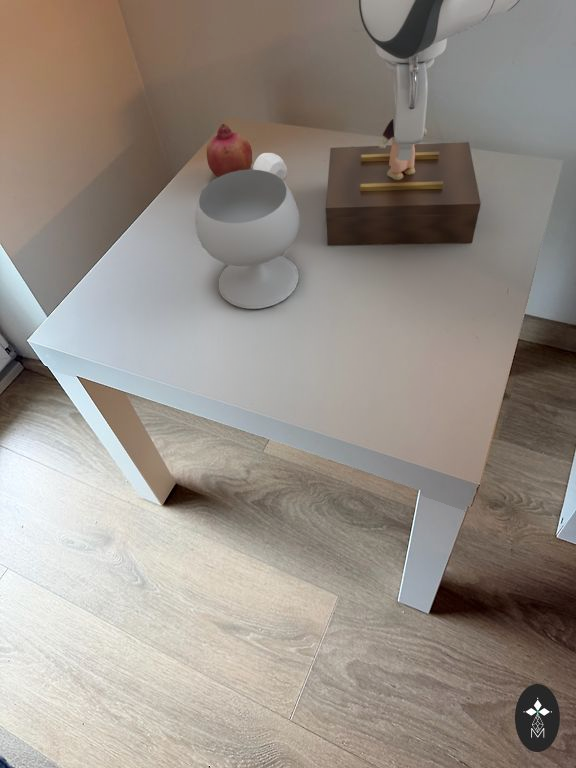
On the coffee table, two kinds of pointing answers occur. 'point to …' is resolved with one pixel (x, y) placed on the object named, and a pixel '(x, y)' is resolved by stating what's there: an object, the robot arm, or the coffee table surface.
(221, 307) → the coffee table surface
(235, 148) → the fruit
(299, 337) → the coffee table surface
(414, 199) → the box with brass rails
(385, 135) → the grandmother figurine
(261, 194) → the chalice
